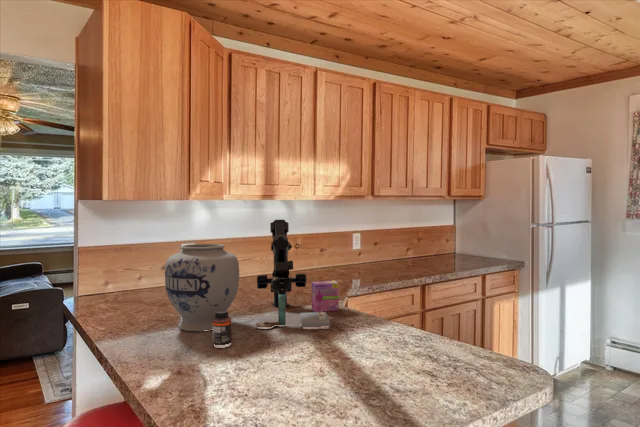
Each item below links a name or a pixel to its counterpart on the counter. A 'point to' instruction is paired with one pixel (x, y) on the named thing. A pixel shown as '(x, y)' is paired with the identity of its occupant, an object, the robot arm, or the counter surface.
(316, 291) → the box
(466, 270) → the counter surface
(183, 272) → the apothecary jar
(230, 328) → the supplement bottle
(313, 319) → the stand
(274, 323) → the crank handle
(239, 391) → the counter surface
